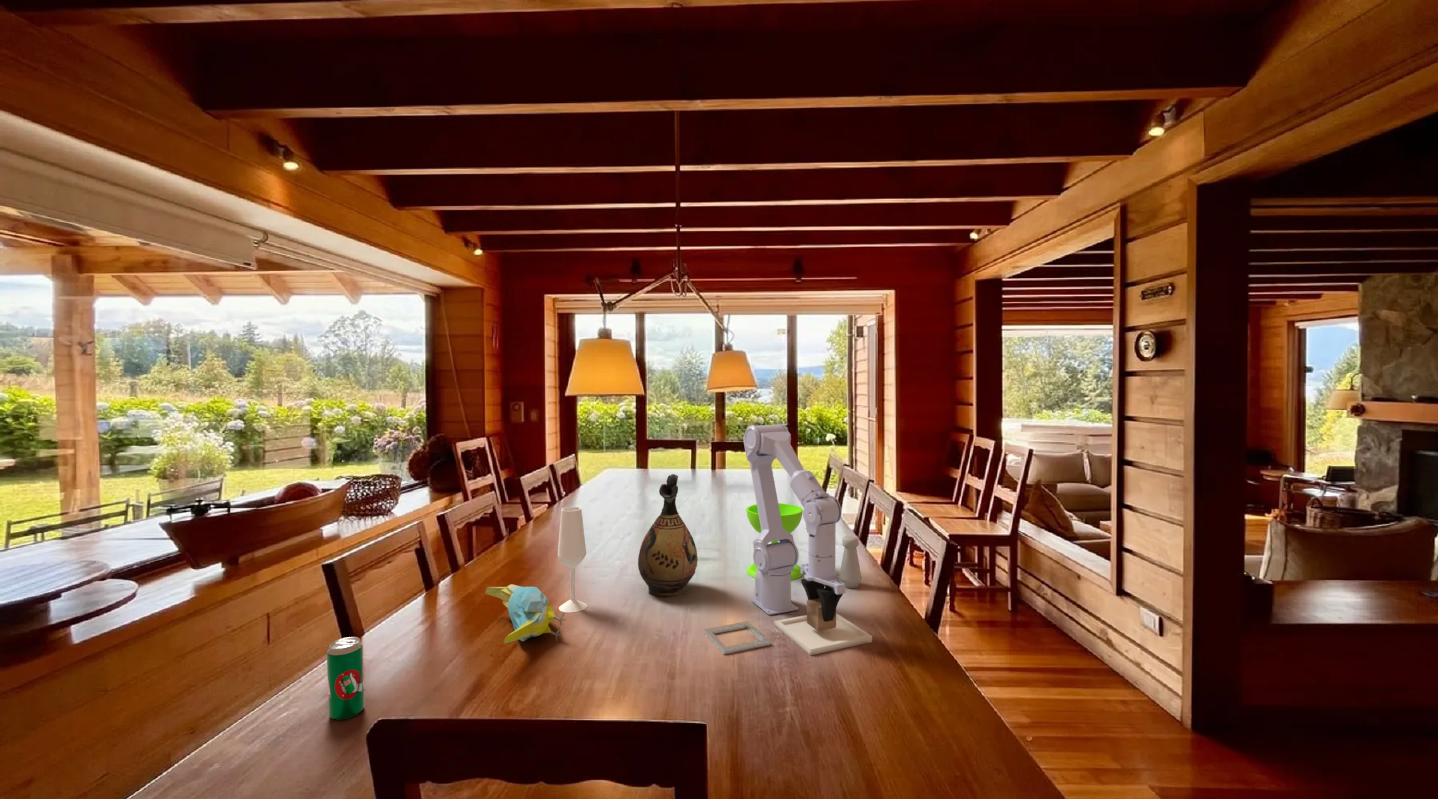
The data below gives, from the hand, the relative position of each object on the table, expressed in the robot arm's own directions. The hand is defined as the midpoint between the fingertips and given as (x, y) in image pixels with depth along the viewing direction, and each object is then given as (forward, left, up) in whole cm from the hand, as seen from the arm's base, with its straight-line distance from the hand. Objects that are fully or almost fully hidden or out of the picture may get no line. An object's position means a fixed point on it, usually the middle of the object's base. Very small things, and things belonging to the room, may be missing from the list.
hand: (821, 616), depth 128 cm
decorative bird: (-26, -62, -4) cm, 68 cm away
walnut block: (0, 0, -2) cm, 2 cm away
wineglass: (-40, +10, -4) cm, 41 cm away
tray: (0, 0, -4) cm, 4 cm away
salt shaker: (-22, +23, -4) cm, 32 cm away
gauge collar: (-5, -18, -4) cm, 19 cm away
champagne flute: (-37, -47, -4) cm, 60 cm away
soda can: (-6, -89, -4) cm, 89 cm away
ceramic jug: (-39, -22, -4) cm, 45 cm away
